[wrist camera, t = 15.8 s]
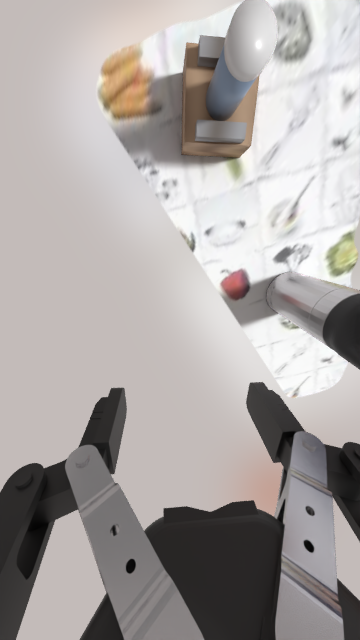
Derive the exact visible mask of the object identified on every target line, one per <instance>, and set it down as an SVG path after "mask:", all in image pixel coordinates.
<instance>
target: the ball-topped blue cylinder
mask: <svg viewBox="0 0 360 640" xmlns="http://www.w3.org/2000/svg"><path fill="white" fill-rule="evenodd" d="M277 34H278V28H277V21H276V17H275V13H274V11H273V9H272V8H271V6H270V5H269V4H268V3H267V2H266V1H265V0H245V1H244V2H243V3H242V4H241V5H240V6H239V7H238V8H237V10H236V11H235V13H234V15H233V18H232V20H231V23H230V26H229V29H228V32H227V35H226V38H225V43H224V46H223V49H222V51H221V54H220V57H219V60H218V62H217V65H216V68H215V71H214V74H213V76H212V79H211V82H210V85H209V87H208V90H207V94H206V107H207V110H208V112H209V114H210V116H211V117H212V118H213V119H215V120H217V121H226V120H228V119H229V118H230V117H231V116H232V115H233V113H234V112H235V110H236V109H237V107H238V106H239V104H240V103H241V101H242V100H243V98H244V97H245V95H246V93H247V92H248V90H249V89H250V87H251V86H252V84H253V83H254V81H255V80H256V78H257V77H258V76H259V75H260V74H261V72H262V71H263V69H264V68H265V66H266V65H267V63H268V62H269V60H270V59H271V57H272V55H273V53H274V50H275V47H276V43H277Z"/></svg>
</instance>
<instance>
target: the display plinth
mask: <svg viewBox="0 0 360 640" xmlns="http://www.w3.org/2000/svg"><path fill="white" fill-rule="evenodd" d="M224 43H225V38H223V37H213V36H203V35H200V39H199V44H196V43H186V51H185V59H184V67H183V97H182V155H196V156H216V157H236V158H239V157H240V156H241V155H242V154H243V153H244V152H245V151H246V150H247V149H248V148H249V147H250V146H251V141H252V132H253V124H254V116H255V108H256V99H257V91H258V83H259V76H258V77H257V78H256V80H255V81H254V83H253V84H252V86H251V87H250V89H249V90H248V92H247V93H246V95H245V97H244V98H243V100H242V101H241V103H240V104H239V106H238V107H237V109H236V110H235V112H234V113H233V115H232V116H231V117H230V118H229V119H228V120H226V121H217V120H215V119H213V118H212V117H211V116H210V114H209V112H208V110H207V107H206V94H207V90H208V87H209V85H210V82H211V79H212V76H213V74H214V71H215V68H216V65H217V62H218V60H219V57H220V54H221V51H222V49H223V46H224Z"/></svg>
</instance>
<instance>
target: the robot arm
mask: <svg viewBox="0 0 360 640" xmlns="http://www.w3.org/2000/svg"><path fill="white" fill-rule="evenodd" d="M266 298H267V302H268V305H269V306H270V307H271V308H272V309H273V310H274V311H276V312H277V313H279V314H280V315H282V316H283V317H285V318H286V319H288V320H289V321H291V322H292V323H294V324H295V325H297V326H298V327H300V328H301V329H303V330H304V331H306V332H307V333H309V334H310V335H312V336H313V337H315V338H316V339H318V340H319V341H321V342H322V343H324V344H325V345H327V346H328V347H330V348H331V349H333V350H334V351H336V352H337V353H338V354H339V355H340V356H341V357H343V358H344V359H346V360H347V361H348V362H350V363H351V364H353V365H354V366H356V367H357V368H358V369H360V290H357V289H353V288H349V287H346V286H342V285H339V284H335V283H331V282H328V281H324V280H321V279H317V278H313V277H310V276H307V275H303V274H299V273H295V272H287V273H283V274H281V275H279V276H278V277H276V278H275V279H274V280H273V281H272V283H271V284H270V286H269V288H268V290H267V296H266ZM246 404H247V409H248V412H249V413H250V416H251V418H252V420H253V422H254V424H255V426H256V428H257V430H258V432H259V434H260V436H261V438H262V440H263V442H264V444H265V446H266V448H267V450H268V453H269V455H270V457H271V459H272V461H273V462H274V463H276V462H281V463H282V465H283V470H282V476H281V483H280V490H279V495H278V502H277V507H276V512H275V515H274V517H273V516H272V515H270V514H268V513H266V512H264V511H262V510H259V509H257V508H256V506H255V503H254V501H241V502H232V503H230V504H227V505H226V506H223V507H221V508H219V509H217V510H215V511H212V512H208V511H204V510H199V509H194V508H190V507H187V506H186V507H176V508H164V517H162V518H160V519H158V520H156V521H155V522H153V523H152V524H151V525H150V526H149V527H147V529H146V530H145V531H144V530H143V528H142V527H141V525H140V523H139V521H138V519H137V517H136V515H135V513H134V512H133V510H132V508H131V506H130V504H129V502H128V500H127V498H126V497H125V495H124V493H123V491H122V490H121V487H120V486H119V484H118V483H115V482H114V480H113V478H112V476H111V474H114V473H115V468H116V463H117V459H118V454H119V449H120V444H121V438H122V434H123V429H124V424H125V419H126V410H127V408H126V398H125V390H124V388H111V390H110V393H109V396H108V397H103V398H101V399H100V400H99V401H98V402H97V403H96V405H95V408H94V410H93V413H92V415H91V417H90V420H89V423H88V425H87V427H86V430H85V433H84V435H83V438H82V440H81V443H80V445H79V447H78V448H77V449H76V450H74V451H73V452H72V453H71V454H70V455H69V457H68V458H67V459H66V460H65V461H62V462H60V463H57V464H55V465H52V466H49V467H47V468H43V466H42V465H41V464H38V463H32V464H28V465H26V466H24V467H22V468H20V469H19V470H17V471H16V472H15V473H14V474H13V475H12V476H11V477H10V478H9V479H8V480H7V482H6V483H5V485H4V487H3V489H2V490H1V492H0V640H16V637H17V634H18V631H19V628H20V625H21V622H22V619H23V616H24V613H25V610H26V607H27V604H28V601H29V598H30V594H31V592H32V588H33V585H34V582H35V580H36V576H37V574H38V570H39V567H40V564H41V561H42V558H43V555H44V552H45V549H46V546H47V543H48V540H49V537H50V534H51V531H52V528H53V525H54V522H55V520H56V519H58V518H60V517H62V516H65V515H67V514H69V513H71V512H73V511H75V510H79V513H80V516H81V519H82V522H83V525H84V527H85V531H86V533H87V536H88V539H89V542H90V545H91V548H92V551H93V554H94V557H95V560H96V563H97V566H98V569H99V572H100V575H101V578H102V581H103V584H104V587H105V590H106V595H105V597H104V598H103V600H102V602H101V604H100V605H99V607H98V609H97V610H96V612H95V614H94V616H93V617H92V619H91V621H90V623H89V624H88V626H87V628H86V630H85V631H84V633H83V635H82V636H81V638H80V640H360V601H359V600H358V599H357V598H356V597H355V596H354V595H353V594H352V593H351V592H350V591H349V590H348V589H347V588H346V587H345V586H344V585H343V584H342V583H341V582H340V581H339V580H338V579H337V575H336V574H337V573H336V554H335V535H334V515H333V498H334V499H335V501H336V503H337V505H338V506H339V508H340V510H341V511H342V513H343V515H344V516H345V518H346V519H347V521H348V523H349V525H350V526H351V528H352V530H353V531H354V533H355V534H356V536H357V538H358V539H359V541H360V444H357V443H353V442H348V443H345V444H344V446H343V448H338V447H334V446H329V445H325V444H323V443H322V442H321V441H320V440H319V439H318V438H317V437H316V436H314V435H313V434H311V433H308V432H305V431H304V429H303V428H302V426H301V425H300V423H299V422H298V421H297V419H296V418H295V417H294V415H293V414H292V412H291V411H290V410H289V409H288V407H287V406H286V404H284V402H283V400H282V399H281V398H280V396H279V395H278V394H276V393H275V392H274V391H272V390H268V389H267V387H266V386H265V384H264V383H263V382H256V383H250V385H249V391H248V395H247V401H246ZM332 496H333V497H332Z"/></svg>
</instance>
